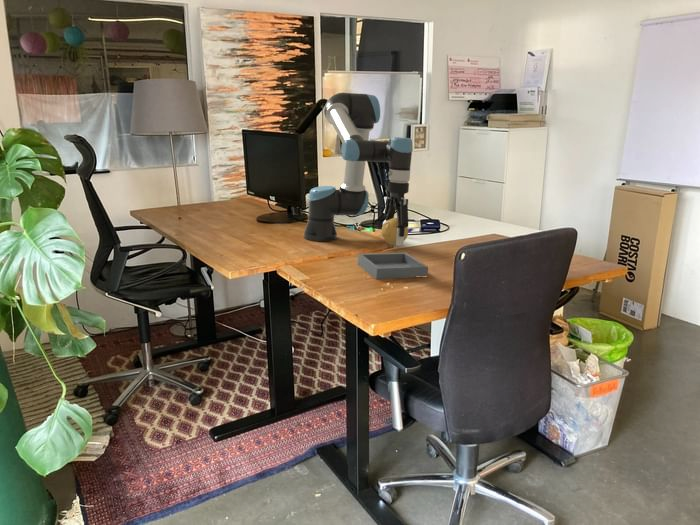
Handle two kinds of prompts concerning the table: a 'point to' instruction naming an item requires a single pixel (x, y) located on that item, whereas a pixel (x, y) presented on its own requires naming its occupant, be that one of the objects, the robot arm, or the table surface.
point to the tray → (392, 265)
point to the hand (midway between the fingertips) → (393, 241)
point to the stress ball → (391, 231)
